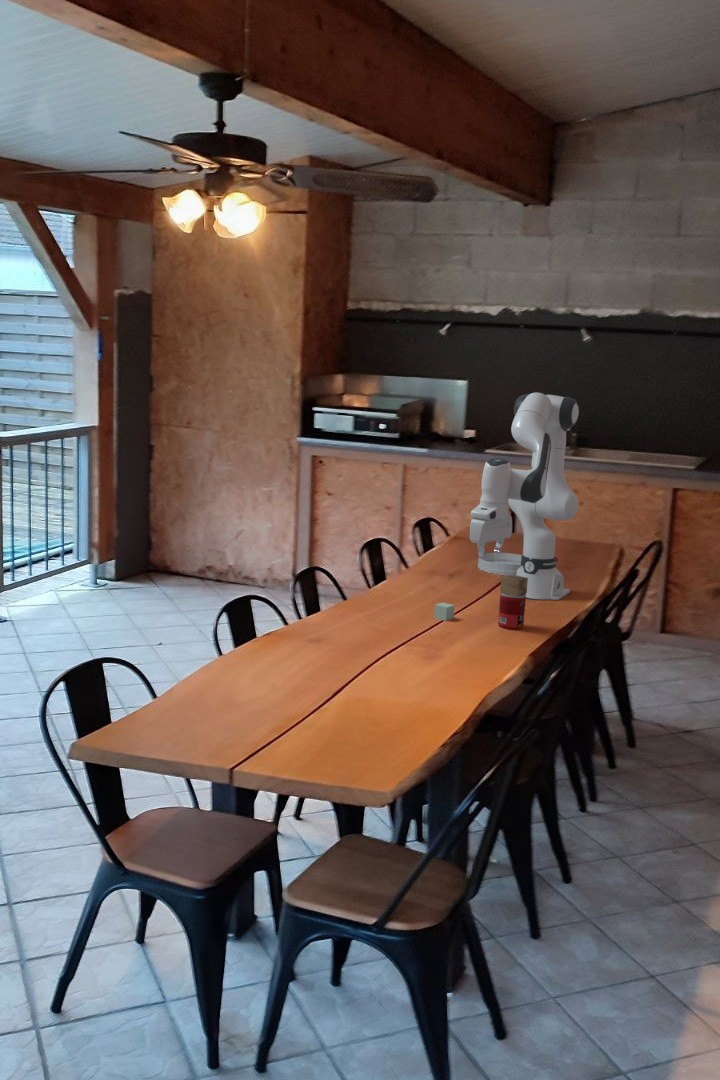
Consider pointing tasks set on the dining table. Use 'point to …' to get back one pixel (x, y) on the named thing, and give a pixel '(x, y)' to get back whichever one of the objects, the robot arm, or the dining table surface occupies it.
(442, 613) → the sage cube
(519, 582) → the walnut block
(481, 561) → the dish
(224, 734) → the dining table surface
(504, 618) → the canned food
